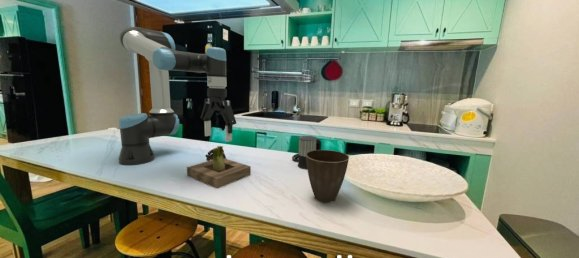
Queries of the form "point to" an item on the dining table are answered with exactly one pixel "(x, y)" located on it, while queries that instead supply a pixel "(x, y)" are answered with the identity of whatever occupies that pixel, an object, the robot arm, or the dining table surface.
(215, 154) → the fennel bulb
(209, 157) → the brown animal figurine
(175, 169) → the dining table surface
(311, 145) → the milk frother
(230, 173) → the tray
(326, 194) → the plant pot
